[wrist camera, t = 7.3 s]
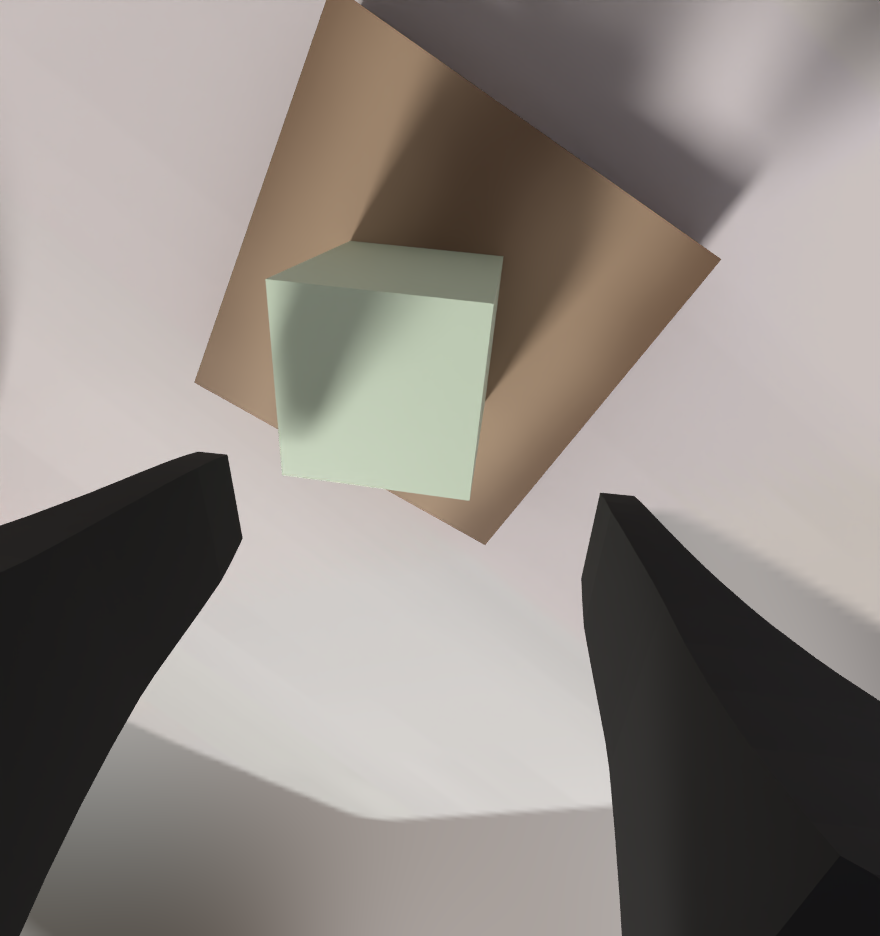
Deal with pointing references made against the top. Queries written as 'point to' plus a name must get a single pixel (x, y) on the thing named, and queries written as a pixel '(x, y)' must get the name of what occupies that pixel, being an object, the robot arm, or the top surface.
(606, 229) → the walnut block
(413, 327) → the sage block
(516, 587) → the top surface
